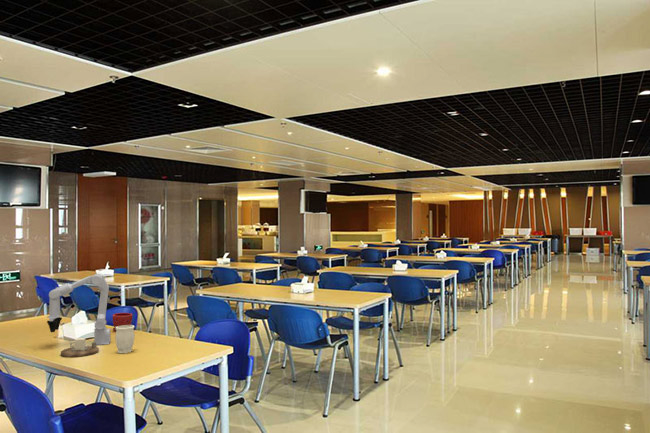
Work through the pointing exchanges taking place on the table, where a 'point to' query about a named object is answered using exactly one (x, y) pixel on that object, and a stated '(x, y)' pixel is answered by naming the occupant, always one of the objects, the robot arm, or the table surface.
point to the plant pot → (121, 319)
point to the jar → (124, 338)
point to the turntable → (80, 351)
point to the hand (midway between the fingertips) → (54, 330)
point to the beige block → (79, 343)
